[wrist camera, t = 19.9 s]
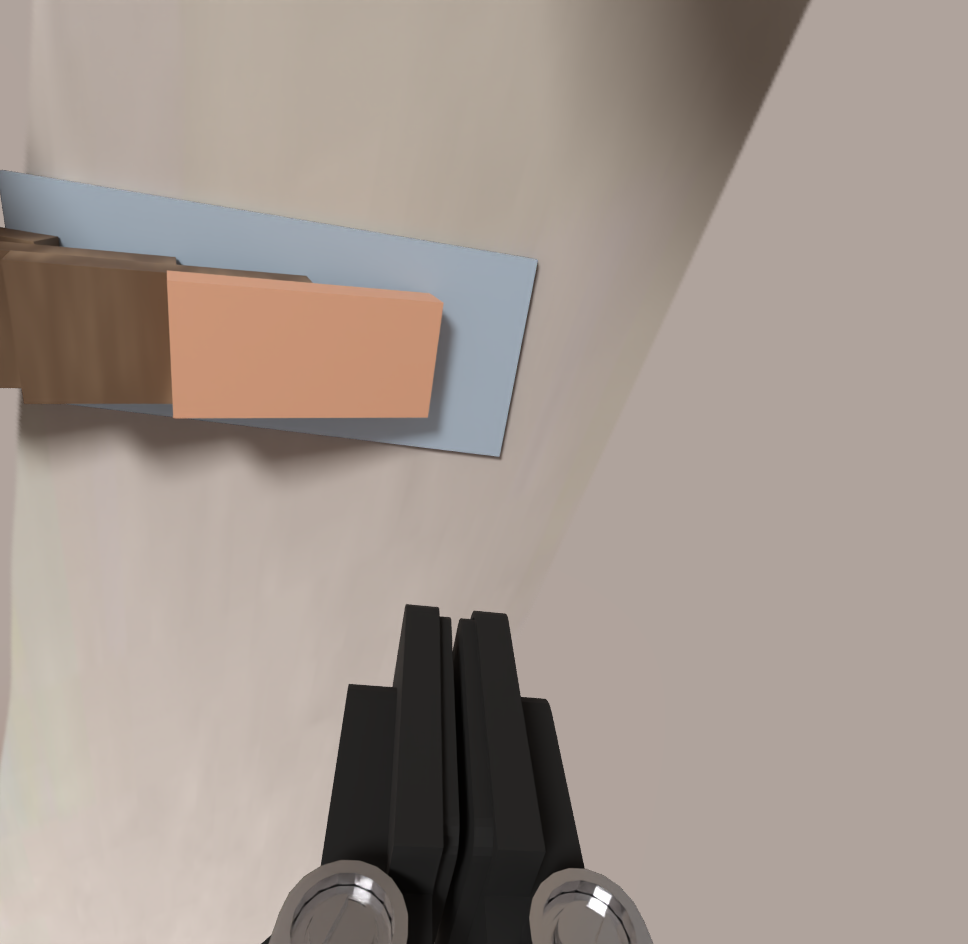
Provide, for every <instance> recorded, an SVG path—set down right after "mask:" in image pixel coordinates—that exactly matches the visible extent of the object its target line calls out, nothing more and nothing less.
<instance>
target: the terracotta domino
mask: <svg viewBox="0 0 968 944" xmlns="http://www.w3.org/2000/svg"><path fill="white" fill-rule="evenodd" d="M167 292H168V313H169V335H170V356H171V378H172V399H173V418H428V413H429V406H430V398H431V391H432V384H433V377H434V369H435V362H436V355H437V347H438V340H439V333H440V326H441V318H442V311H443V304H444V303H443V302H442V301H440V300H439V299H437V298H436V297H435V296H433V295H432V294H430V293H422V292H410V291H399V290H387V289H376V288H364V287H353V286H341V285H330V284H318V283H306V282H295V281H283V280H272V279H260V278H249V277H237V276H226V275H214V274H203V273H191V272H180V271H168V270H167Z"/></svg>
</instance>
